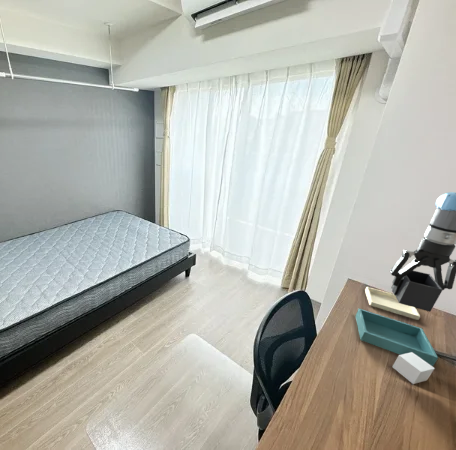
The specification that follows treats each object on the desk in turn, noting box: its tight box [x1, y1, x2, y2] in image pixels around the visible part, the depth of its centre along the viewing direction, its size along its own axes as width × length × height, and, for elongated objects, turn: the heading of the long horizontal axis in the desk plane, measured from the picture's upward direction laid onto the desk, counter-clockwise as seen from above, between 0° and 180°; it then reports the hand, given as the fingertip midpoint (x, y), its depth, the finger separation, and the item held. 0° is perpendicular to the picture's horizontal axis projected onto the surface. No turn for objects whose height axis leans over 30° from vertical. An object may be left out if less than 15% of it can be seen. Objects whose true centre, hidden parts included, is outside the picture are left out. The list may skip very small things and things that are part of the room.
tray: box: [364, 286, 421, 321], centre depth 112 cm, size 16×14×2 cm
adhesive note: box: [392, 352, 436, 386], centre depth 78 cm, size 6×6×6 cm
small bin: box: [390, 267, 443, 313], centre depth 87 cm, size 8×11×9 cm
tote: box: [355, 308, 439, 367], centre depth 92 cm, size 20×16×5 cm
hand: (410, 297), depth 88 cm, fingers closed on small bin, 8 cm apart
